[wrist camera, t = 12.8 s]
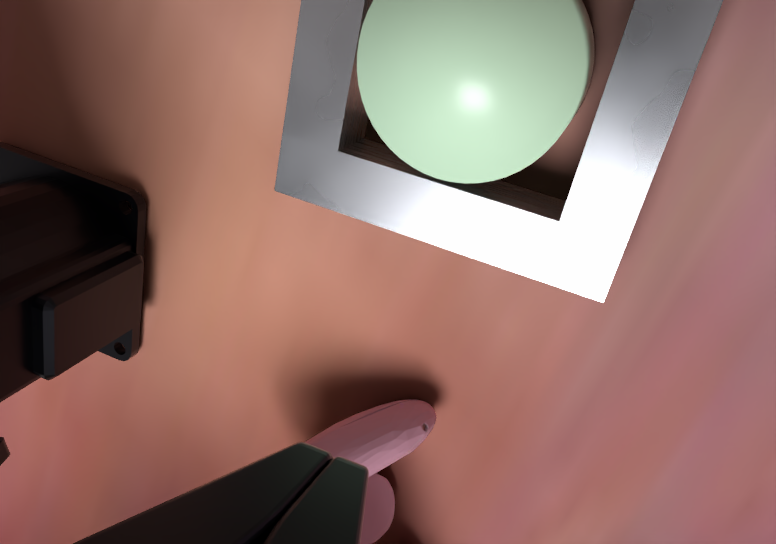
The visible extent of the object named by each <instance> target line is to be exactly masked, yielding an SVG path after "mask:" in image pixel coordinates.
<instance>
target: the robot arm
mask: <svg viewBox="0 0 776 544" xmlns="http://www.w3.org/2000/svg"><path fill="white" fill-rule="evenodd" d="M127 201H128V202H129V203H130V204H131V207H132V210H131V209H130V208H129V207H128V204H127ZM145 225H146V203H145V200H144V198H143V197H142V195H141V194H140V193H139V192H137V191H135V190H133V189H130V188H128V187H125V186H122V185H119V184H117V183H114V182H111V181H108V180H106V179H103V178H100V177H97V176H94V175H92V174H89V173H86V172H83V171H81V170H78V169H75V168H72V167H69V166H67V165H64V164H61V163H58V162H56V161H53V160H50V159H47V158H45V157H42V156H39V155H36V154H33V153H31V152H28V151H25V150H22V149H20V148H17V147H14V146H11V145H9V144H6V143H3V142H0V402H1V401H3V400H5V399H6V398H8V397H10V396H11V395H13V394H14V393H16V392H18V391H19V390H21V389H23V388H24V387H26V386H28V385H29V384H31V383H32V382H34V381H36V380H37V379H39V378H44V379H46V380H50V379H53V378H55V377H56V376H58V375H60V374H61V373H63V372H64V371H66V370H68V369H69V368H71V367H72V366H74V365H76V364H77V363H79V362H80V361H82V360H84V359H85V358H87V357H88V356H90V355H91V354H93V353H95V352H96V351H99V352H102V353H104V354H106V355H109V356H111V357H113V358H116V359H118V360H121V361H126V360H129V359H130V358H132V357H133V356H134V355H136V354H137V353H138V349H139V335H140V322H141V308H142V289H143V271H144V243H145ZM122 344H123V345H124V347H125V348H124V347H123V345H122ZM9 455H10V452H9V450H8V447H7V445H6V442H5V440H4V438H3V437H0V465H1V464H2V463H3V462H4V461H5V460H6V459H7V458H8V457H9ZM368 477H369V471H368V469H367V467H365V466H364V465H361V464H358V463H356V462H353V461H351V460H348V459H346V458H343V457H340V456H339V457H335V458H334V457H333V456H332V454H331V453H330V452H328V451H326V450H323V449H321V448H318V447H316V446H313V445H310V444H308V443H304V442H300V443H296V444H293V445H291V446H289V447H287V448H284V449H282V450H280V451H278V452H275V453H273V454H271V455H269V456H266V457H264V458H262V459H260V460H258V461H255V462H253V463H251V464H249V465H246V466H244V467H242V468H240V469H238V470H235V471H233V472H231V473H229V474H226V475H224V476H222V477H220V478H218V479H215V480H213V481H211V482H209V483H206V484H204V485H202V486H200V487H198V488H195V489H193V490H191V491H189V492H186V493H184V494H182V495H180V496H178V497H175V498H173V499H171V500H169V501H166V502H164V503H162V504H160V505H158V506H155V507H153V508H151V509H149V510H146V511H144V512H142V513H140V514H138V515H135V516H133V517H131V518H129V519H126V520H124V521H122V522H120V523H117V524H115V525H113V526H111V527H109V528H106V529H104V530H102V531H100V532H97V533H95V534H93V535H91V536H89V537H86V538H84V539H82V540H80V541H77V542H75V543H73V544H360V542H361V534H362V526H363V517H364V509H365V501H366V493H367V485H368Z"/></svg>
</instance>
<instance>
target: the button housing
mask: <svg viewBox="0 0 776 544" xmlns="http://www.w3.org/2000/svg"><path fill="white" fill-rule="evenodd" d="M372 2H373V0H301V7H300V14H299V21H298V28H297V35H296V42H295V49H294V56H293V63H292V70H291V78H290V85H289V92H288V99H287V106H286V113H285V120H284V127H283V134H282V141H281V148H280V155H279V162H278V169H277V177H276V184H275V191H277V192H280V193H283V194H286V195H289V196H292V197H295V198H297V199H300V200H303V201H306V202H309V203H312V204H315V205H318V206H321V207H324V208H327V209H330V210H333V211H336V212H338V213H341V214H344V215H347V216H350V217H353V218H356V219H359V220H362V221H365V222H368V223H371V224H374V225H377V226H379V227H382V228H385V229H388V230H391V231H394V232H397V233H400V234H403V235H406V236H409V237H412V238H415V239H418V240H420V241H423V242H426V243H429V244H432V245H435V246H438V247H441V248H444V249H447V250H450V251H453V252H456V253H459V254H461V255H464V256H467V257H470V258H473V259H476V260H479V261H482V262H485V263H488V264H491V265H494V266H497V267H500V268H502V269H505V270H508V271H511V272H514V273H517V274H520V275H523V276H526V277H529V278H532V279H535V280H538V281H541V282H543V283H546V284H549V285H552V286H555V287H558V288H561V289H564V290H567V291H570V292H573V293H576V294H579V295H582V296H584V297H587V298H590V299H593V300H596V301H599V302H602V303H604V300H605V298H606V295H607V293H608V290H609V288H610V285H611V283H612V280H613V278H614V275H615V272H616V270H617V267H618V265H619V262H620V260H621V257H622V255H623V252H624V250H625V247H626V245H627V242H628V240H629V237H630V235H631V232H632V230H633V227H634V224H635V222H636V219H637V217H638V214H639V212H640V209H641V207H642V204H643V202H644V199H645V197H646V194H647V192H648V189H649V187H650V184H651V182H652V179H653V177H654V174H655V171H656V169H657V166H658V164H659V161H660V159H661V156H662V154H663V151H664V149H665V146H666V144H667V141H668V139H669V136H670V134H671V131H672V129H673V126H674V123H675V121H676V118H677V116H678V113H679V111H680V108H681V106H682V103H683V101H684V98H685V96H686V93H687V91H688V88H689V86H690V83H691V81H692V78H693V76H694V73H695V70H696V68H697V65H698V63H699V60H700V58H701V55H702V53H703V50H704V48H705V45H706V43H707V40H708V38H709V35H710V33H711V30H712V28H713V25H714V22H715V20H716V17H717V15H718V12H719V10H720V7H721V5H722V2H723V0H635V2H634V5H633V8H632V11H631V14H630V17H629V20H628V23H627V26H626V28H625V31H624V34H623V37H622V40H621V43H620V46H619V49H618V52H617V55H616V58H615V61H614V63H613V66H612V69H611V72H610V75H609V78H608V81H607V84H606V87H605V90H604V93H603V96H602V98H601V101H600V104H599V107H598V110H597V113H596V116H595V119H594V122H593V125H592V128H591V131H590V133H589V136H588V139H587V142H586V145H585V148H584V151H583V154H582V157H581V160H580V163H579V166H578V168H577V171H576V174H575V177H574V180H573V183H572V186H571V189H570V192H569V195H568V198H567V201H564V200H561V199H558V198H555V197H551V196H548V195H545V194H542V193H538V192H535V191H532V190H529V189H526V188H522V187H519V186H516V185H513V184H509V183H506V182H503V181H500V180H494V181H489V182H483V183H456V182H449V181H445V180H441V179H437V178H434V177H432V176H429V175H426V174H424V173H422V172H420V171H418V170H417V169H415V168H413V167H411V166H410V165H408V164H407V163H406V162H404V161H403V160H401V159H400V158H399V157H398V156H397V155H396V154H395V153H394V152H393V151H392V150H390V148H389V147H388V146H387V145H384V144H381V143H377V142H374V141H371V140H368V139H364V138H365V133H366V127H367V122H368V115H367V113H366V110H365V107H364V104H363V102H362V98H361V94H360V90H359V85H358V76H357V51H358V43H359V37H360V33H361V29H362V25H363V23H364V20H365V17H366V15H367V12H368V10H369V8H370V6H371V4H372Z"/></svg>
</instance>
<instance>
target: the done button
mask: <svg viewBox="0 0 776 544" xmlns="http://www.w3.org/2000/svg"><path fill="white" fill-rule="evenodd" d="M593 66H594V37H593V29H592V26H591V22H590V18H589V15H588V13H587V10H586V8H585V6H584V3H583V1H582V0H373V2H372V4H371V6H370V8H369V10H368V12H367V15H366V17H365V20H364V23H363V25H362V29H361V33H360V37H359V43H358V51H357V76H358V85H359V90H360V94H361V98H362V102H363V104H364V107H365V110H366V113H367V115H368V117H369V119H370V121H371V123H372V125H373V127H374V128H375V130H376V131H377V133H378V134H379V136H380V138H381V139H382V140H383V141H384V142H385V144H386V145H387V146H388V147H389V148H390V150H392V151H393V152H394V153H395V154H396V155H397V156H398V157H399V158H400V159H401V160H403V161H404V162H406V163H407V164H408V165H410V166H411V167H413V168H415V169H417V170H418V171H420V172H422V173H424V174H426V175H429V176H432V177H434V178H437V179H441V180H445V181H449V182H456V183H483V182H489V181H494V180H498V179H501V178H505V177H507V176H510V175H512V174H514V173H517V172H519V171H521V170H522V169H524V168H526V167H527V166H529V165H531V164H532V163H534V162H535V161H536V160H537V159H539V158H540V157H541V156H542V155H543V154H545V153H546V152H547V151H548V149H549V148H550V147H551V146H552V145H553V144H554V143H555V142H556V141H557V139H558V138H559V137H560V135H561V134H562V133H563V131H564V130H565V129H566V127H567V126H568V124H569V123H570V122H571V120H572V119H573V117H574V116H575V115H576V113H577V112H578V110H579V108H580V106H581V104H582V103H583V101H584V98H585V96H586V93H587V91H588V88H589V85H590V81H591V78H592V74H593Z"/></svg>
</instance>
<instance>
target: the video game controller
mask: <svg viewBox="0 0 776 544" xmlns="http://www.w3.org/2000/svg"><path fill="white" fill-rule="evenodd" d="M435 421H436V413H435V410H434V409H433V408H432V406H431V405H430V404H429V403H427V402H425V401H420V400H400V401H394V402H390V403H387V404H383V405H380V406H376V407H374V408H371V409H368V410H365V411H363V412H360V413H357V414H355V415H353V416H351V417H348V418H346V419H344V420H342V421H340V422H338V423H336V424H334V425H332V426H330V427H329V428H327V429H325V430H324V431H322V432H320V433H319V434H317V435H315V436H314V437H312V438H310V439H309V440H307V441H305V442H304V443H308V444H310V445H313V446H316V447H318V448H321V449H323V450H326V451H328V452H330V453H331V454H332V456H333V457H334V458H335V457H339V456H340V457H343V458H346V459H348V460H351V461H353V462H356V463H358V464H361V465H364V466H365V467H367V469H368V471H369V477H368V485H367V493H366V501H365V509H364V517H363V526H362V534H361V542H360V544H372V543H374V542H376V541H377V540H378V539H380V538H381V537H382V536H383V535H384V534H385V532H386V531H387V530H388V529H389V527H390V525H391V523H392V520H393V517H394V510H395V498H394V493H393V489H392V487H391V485H390V483H389V482H388V480H387V479H386V478H384V477H383V476H381V475H379V474H377V472H379V471H380V470H382V469H384V468H385V467H387V466H389V465H390V464H392V463H394V462H396V461H397V460H399V459H401V458H402V457H404V456H406V455H408V454H409V453H411V452H412V451H413V450H414V449H416V448H417V447H418V446H419V445H420V444H421V443H422V442H423V441H424V440H425V438H426V437H427V436H428V434H429V433H430V432H431V430H432V429H433V426H434V424H435Z"/></svg>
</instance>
